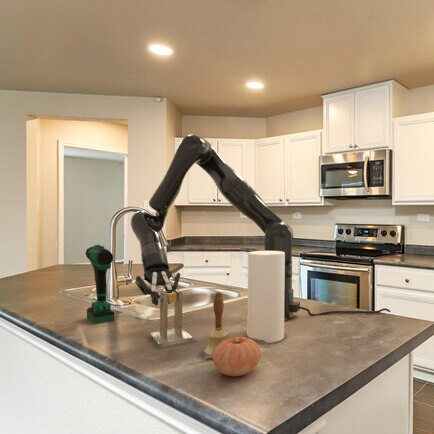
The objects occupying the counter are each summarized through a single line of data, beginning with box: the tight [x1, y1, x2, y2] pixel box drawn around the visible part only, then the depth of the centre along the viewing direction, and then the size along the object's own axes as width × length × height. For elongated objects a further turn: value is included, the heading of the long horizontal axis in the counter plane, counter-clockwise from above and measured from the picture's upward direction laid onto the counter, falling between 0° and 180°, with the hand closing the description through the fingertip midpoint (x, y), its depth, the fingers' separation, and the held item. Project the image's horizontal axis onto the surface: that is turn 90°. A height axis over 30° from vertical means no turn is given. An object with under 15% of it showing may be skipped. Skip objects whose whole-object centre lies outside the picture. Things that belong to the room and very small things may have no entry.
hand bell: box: [203, 291, 229, 361], centre depth 99 cm, size 8×8×16 cm
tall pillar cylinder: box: [246, 250, 285, 344], centre depth 112 cm, size 11×11×25 cm
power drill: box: [85, 244, 115, 325], centre depth 132 cm, size 6×29×25 cm, turn 41°
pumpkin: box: [212, 336, 262, 377], centre depth 87 cm, size 11×11×8 cm
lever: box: [156, 288, 177, 304], centre depth 114 cm, size 14×3×3 cm, turn 36°
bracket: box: [149, 288, 193, 345], centre depth 109 cm, size 11×9×14 cm
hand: (163, 302), depth 116 cm, fingers closed on lever, 3 cm apart
